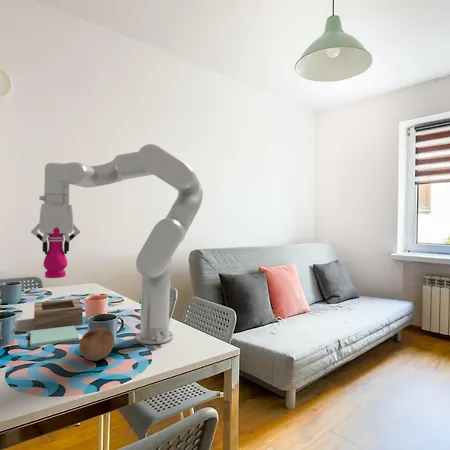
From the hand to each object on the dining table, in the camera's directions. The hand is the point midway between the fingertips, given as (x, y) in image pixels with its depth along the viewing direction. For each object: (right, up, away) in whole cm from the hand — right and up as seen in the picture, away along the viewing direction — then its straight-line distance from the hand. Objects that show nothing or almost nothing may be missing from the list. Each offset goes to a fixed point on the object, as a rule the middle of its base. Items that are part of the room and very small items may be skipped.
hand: (55, 253), depth 114 cm
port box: (-8, -28, +17) cm, 34 cm away
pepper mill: (0, -8, 0) cm, 8 cm away
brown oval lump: (+20, -29, -17) cm, 39 cm away
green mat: (-1, -28, 0) cm, 28 cm away
